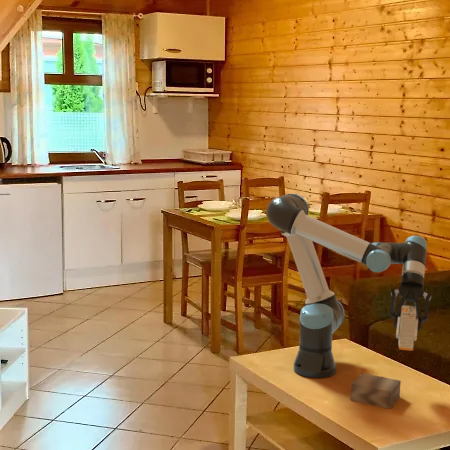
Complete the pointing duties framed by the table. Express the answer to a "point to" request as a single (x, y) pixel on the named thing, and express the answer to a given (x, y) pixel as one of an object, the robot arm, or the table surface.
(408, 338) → the supplement box
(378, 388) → the walnut block
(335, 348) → the table surface
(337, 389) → the table surface
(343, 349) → the table surface
